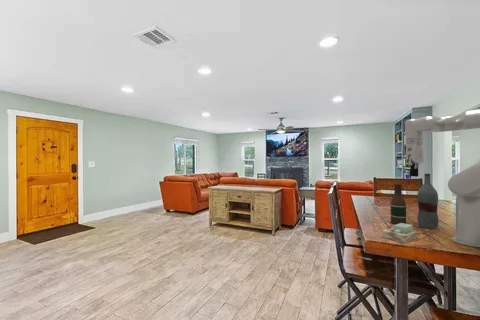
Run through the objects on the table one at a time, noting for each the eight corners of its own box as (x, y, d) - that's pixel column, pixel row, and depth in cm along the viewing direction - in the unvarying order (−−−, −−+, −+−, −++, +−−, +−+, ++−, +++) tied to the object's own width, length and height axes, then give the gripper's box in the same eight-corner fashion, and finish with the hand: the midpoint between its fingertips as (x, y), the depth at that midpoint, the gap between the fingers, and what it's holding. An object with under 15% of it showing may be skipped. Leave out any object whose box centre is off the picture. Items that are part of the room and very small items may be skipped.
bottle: (412, 225, 115) (401, 228, 109) (412, 235, 115) (401, 239, 109) (401, 222, 119) (390, 226, 113) (401, 232, 119) (390, 236, 113)
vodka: (421, 228, 128) (420, 174, 128) (414, 223, 137) (414, 173, 137) (442, 229, 125) (441, 174, 125) (434, 225, 134) (433, 173, 134)
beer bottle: (409, 225, 133) (409, 184, 133) (396, 225, 133) (395, 184, 134) (400, 222, 141) (400, 182, 141) (387, 222, 141) (387, 182, 141)
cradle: (416, 237, 113) (416, 230, 113) (404, 242, 106) (404, 235, 106) (395, 232, 121) (395, 226, 121) (382, 237, 114) (382, 230, 114)
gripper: (415, 141, 117) (416, 177, 117) (428, 142, 125) (428, 176, 125) (399, 142, 124) (399, 176, 123) (412, 143, 131) (412, 175, 131)
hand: (414, 176), depth 124 cm, fingers closed
